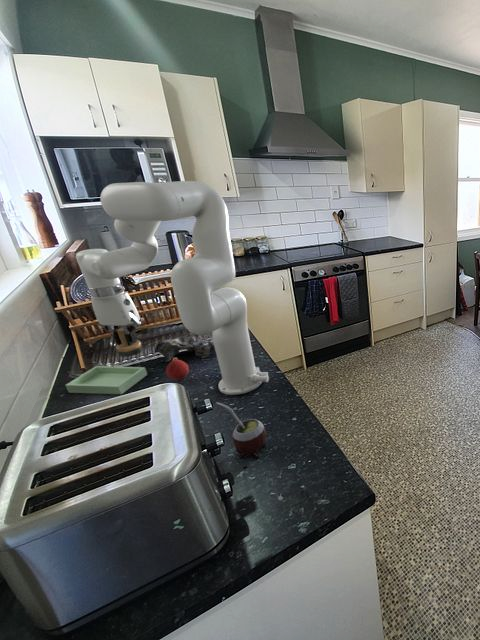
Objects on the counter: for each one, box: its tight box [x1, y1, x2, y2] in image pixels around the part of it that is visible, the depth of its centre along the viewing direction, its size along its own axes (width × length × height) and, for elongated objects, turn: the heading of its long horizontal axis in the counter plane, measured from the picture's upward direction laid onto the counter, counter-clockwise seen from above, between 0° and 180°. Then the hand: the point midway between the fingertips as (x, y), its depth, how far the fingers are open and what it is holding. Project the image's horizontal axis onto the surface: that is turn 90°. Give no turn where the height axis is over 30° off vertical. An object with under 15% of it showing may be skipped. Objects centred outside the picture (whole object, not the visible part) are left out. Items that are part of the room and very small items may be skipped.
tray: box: [64, 365, 148, 395], centre depth 107 cm, size 16×11×3 cm
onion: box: [165, 357, 190, 381], centre depth 109 cm, size 6×6×8 cm
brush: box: [115, 327, 143, 358], centre depth 113 cm, size 6×6×8 cm
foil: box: [154, 335, 214, 363], centre depth 123 cm, size 12×11×15 cm
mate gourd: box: [215, 401, 267, 460], centre depth 82 cm, size 8×8×15 cm
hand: (127, 342), depth 113 cm, fingers closed on brush, 2 cm apart
